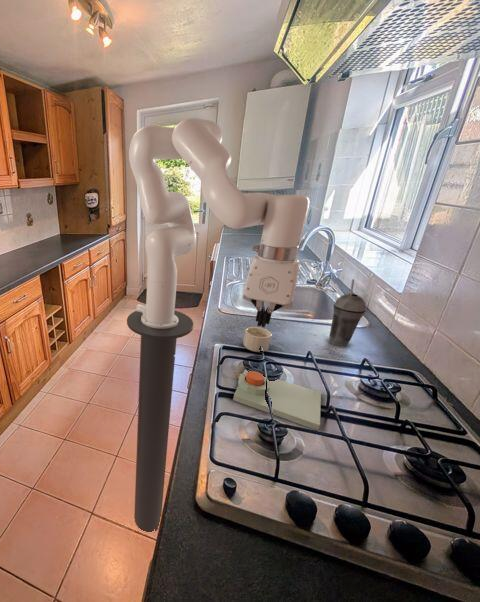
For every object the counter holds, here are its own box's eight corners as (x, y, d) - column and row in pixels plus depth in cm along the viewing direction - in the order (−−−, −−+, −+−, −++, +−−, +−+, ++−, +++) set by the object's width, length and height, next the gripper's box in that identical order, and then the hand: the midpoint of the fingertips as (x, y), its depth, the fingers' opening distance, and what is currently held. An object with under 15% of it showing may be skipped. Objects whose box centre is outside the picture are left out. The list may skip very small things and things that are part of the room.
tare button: (244, 383, 70) (245, 376, 69) (247, 375, 73) (248, 369, 72) (261, 388, 68) (262, 382, 67) (264, 380, 71) (265, 374, 70)
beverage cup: (359, 349, 87) (382, 284, 79) (331, 348, 88) (351, 283, 80) (344, 337, 93) (364, 276, 86) (318, 336, 94) (336, 275, 87)
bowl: (240, 348, 89) (243, 333, 87) (245, 339, 94) (248, 324, 92) (266, 355, 85) (269, 340, 83) (269, 345, 90) (273, 330, 88)
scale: (231, 399, 69) (233, 389, 67) (243, 373, 78) (244, 363, 76) (318, 430, 60) (322, 419, 59) (319, 397, 69) (322, 386, 68)
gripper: (238, 251, 69) (226, 322, 76) (316, 260, 61) (295, 339, 68) (245, 245, 75) (234, 312, 82) (318, 253, 66) (298, 327, 74)
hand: (261, 324), depth 75 cm, fingers closed
